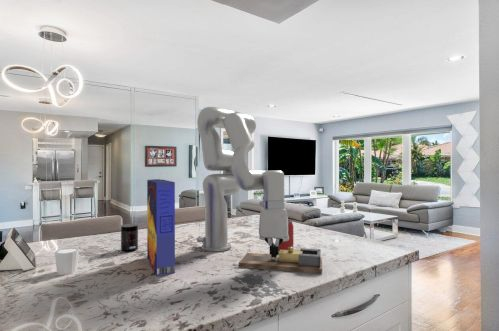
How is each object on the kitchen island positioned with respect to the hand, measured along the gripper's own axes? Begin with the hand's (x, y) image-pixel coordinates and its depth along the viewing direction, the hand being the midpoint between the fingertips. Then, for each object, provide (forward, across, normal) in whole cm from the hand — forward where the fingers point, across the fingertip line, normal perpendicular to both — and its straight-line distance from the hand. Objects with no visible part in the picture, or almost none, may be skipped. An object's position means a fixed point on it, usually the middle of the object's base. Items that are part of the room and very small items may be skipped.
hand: (274, 256), depth 105 cm
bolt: (+1, +6, 0) cm, 6 cm away
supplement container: (+3, -62, +3) cm, 62 cm away
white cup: (+3, -65, -24) cm, 70 cm away
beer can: (+3, +1, +20) cm, 20 cm away
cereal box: (+3, -39, -10) cm, 41 cm away
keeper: (+1, +13, 0) cm, 13 cm away
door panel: (+3, +2, 0) cm, 4 cm away
